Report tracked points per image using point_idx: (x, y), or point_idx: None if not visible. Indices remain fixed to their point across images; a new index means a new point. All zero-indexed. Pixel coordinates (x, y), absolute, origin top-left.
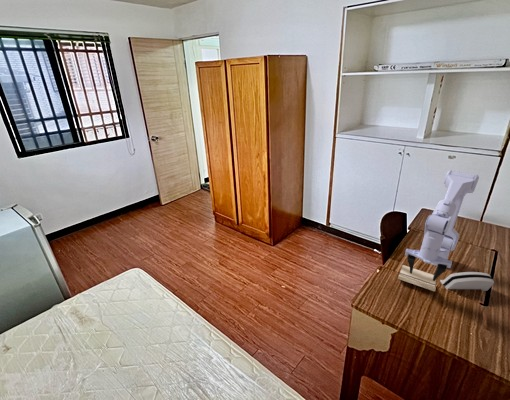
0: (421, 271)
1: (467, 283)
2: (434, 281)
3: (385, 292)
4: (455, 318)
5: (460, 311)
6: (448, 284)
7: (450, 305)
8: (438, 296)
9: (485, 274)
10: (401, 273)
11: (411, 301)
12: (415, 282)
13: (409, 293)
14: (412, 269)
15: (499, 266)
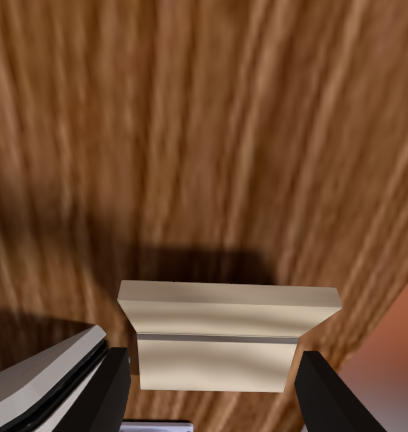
0: (202, 387)
1: None
2: (143, 355)
3: (374, 171)
4: (8, 156)
5: (5, 224)
6: (74, 361)
7: (54, 242)
8: (114, 276)
9: None
10: (290, 341)
11: (232, 171)
12: (236, 298)
13: (244, 230)
14: (339, 408)
15: None
